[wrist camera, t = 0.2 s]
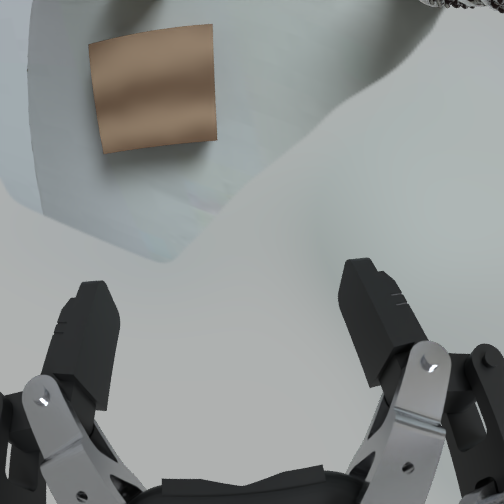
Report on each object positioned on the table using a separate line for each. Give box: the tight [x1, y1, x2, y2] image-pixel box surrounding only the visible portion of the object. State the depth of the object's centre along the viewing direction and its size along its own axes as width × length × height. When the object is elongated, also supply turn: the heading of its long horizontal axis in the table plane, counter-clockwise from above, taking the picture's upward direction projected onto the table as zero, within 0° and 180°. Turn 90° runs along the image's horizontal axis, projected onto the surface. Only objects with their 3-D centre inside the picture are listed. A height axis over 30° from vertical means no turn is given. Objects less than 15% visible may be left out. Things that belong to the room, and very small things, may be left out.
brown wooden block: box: [88, 24, 217, 154], centre depth 28 cm, size 12×12×6 cm
